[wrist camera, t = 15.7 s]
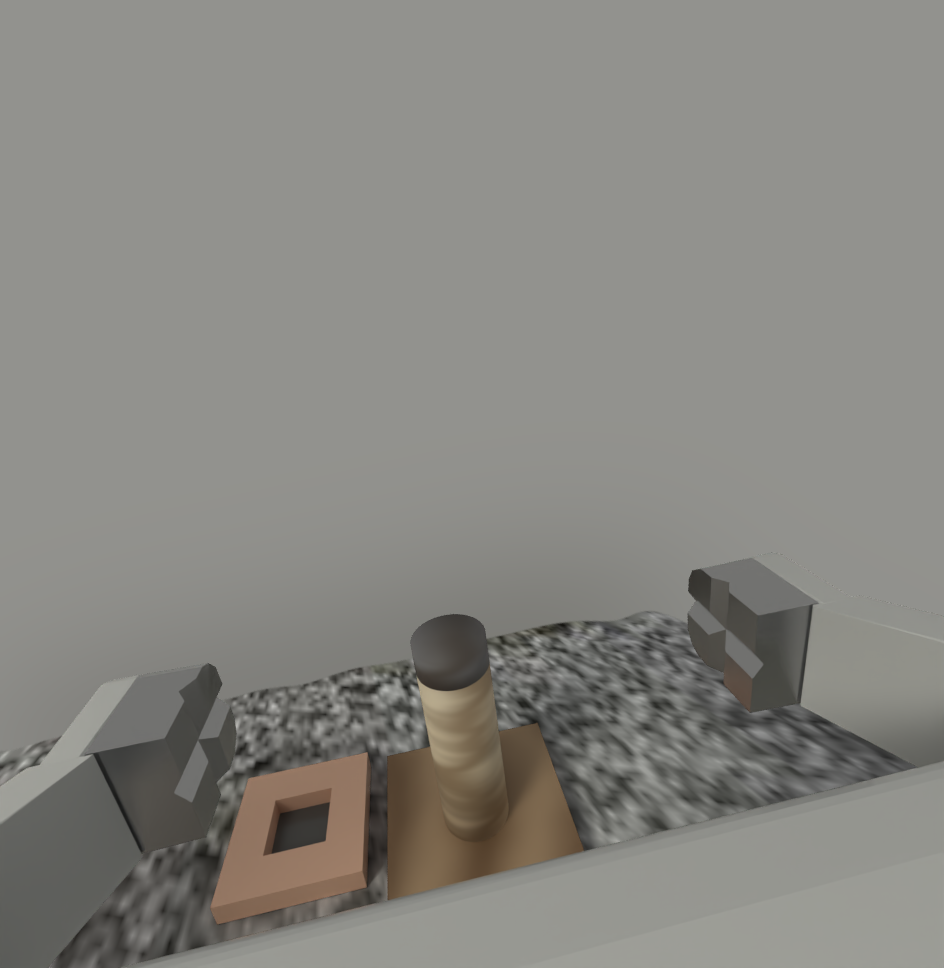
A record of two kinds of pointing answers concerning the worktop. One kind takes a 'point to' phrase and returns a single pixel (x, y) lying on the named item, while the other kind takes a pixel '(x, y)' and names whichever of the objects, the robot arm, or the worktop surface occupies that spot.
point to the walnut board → (448, 860)
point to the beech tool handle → (462, 724)
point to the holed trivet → (297, 839)
